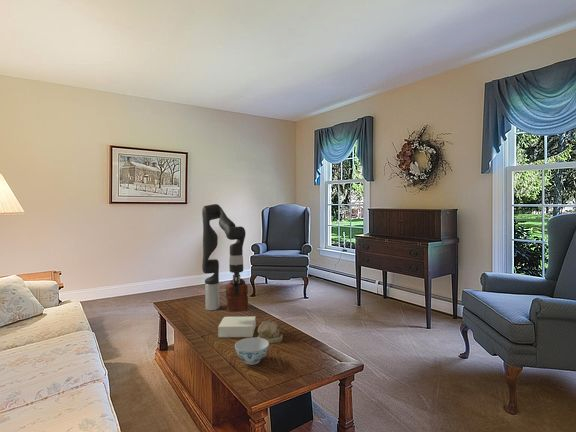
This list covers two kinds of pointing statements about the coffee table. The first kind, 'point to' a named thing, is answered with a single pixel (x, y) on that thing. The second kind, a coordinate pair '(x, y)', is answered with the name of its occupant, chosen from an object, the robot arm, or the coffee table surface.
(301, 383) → the coffee table surface
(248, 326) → the cream white square block
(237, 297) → the wooden figurine
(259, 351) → the chinaware
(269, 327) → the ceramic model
